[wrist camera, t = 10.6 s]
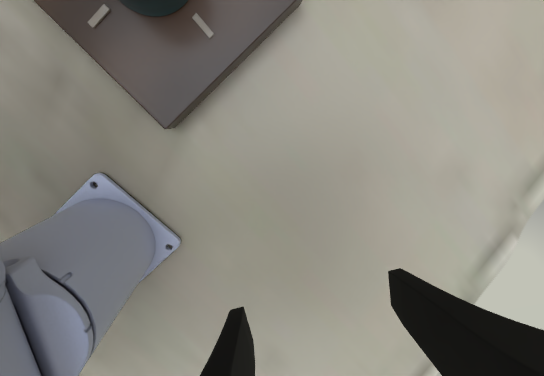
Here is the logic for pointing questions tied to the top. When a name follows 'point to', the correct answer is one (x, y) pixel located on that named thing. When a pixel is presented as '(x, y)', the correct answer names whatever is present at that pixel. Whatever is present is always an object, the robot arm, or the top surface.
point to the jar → (154, 6)
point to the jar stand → (169, 46)
